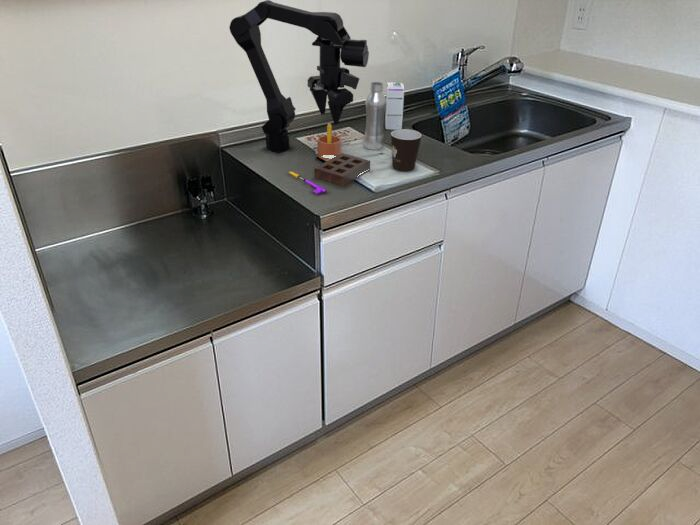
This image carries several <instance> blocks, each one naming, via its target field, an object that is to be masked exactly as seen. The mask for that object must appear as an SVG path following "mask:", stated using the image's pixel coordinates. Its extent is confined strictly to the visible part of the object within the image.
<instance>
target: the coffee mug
mask: <svg viewBox="0 0 700 525" xmlns="http://www.w3.org/2000/svg"><path fill="white" fill-rule="evenodd" d="M421 139H422V133H421V132H420V131H418V130H414V129H409V128H402V129H399V130H391V132H390V142H391V163H392V169H393V170H395V171H397V172H402V173H405V172H406V173H408V172H412V171H414V170H415V167H416V162H417V158H418V154H419V148H420V144H421Z"/></svg>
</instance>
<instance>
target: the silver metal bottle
mask: <svg viewBox="0 0 700 525" xmlns="http://www.w3.org/2000/svg"><path fill="white" fill-rule="evenodd" d="M369 90H370V92H369V94H368V95H367V96H366V98H365V101H364V102H365V119H366V120H365V130H364V135H363V141H362V142H363V146H364V148H366V150H371V151H377V150H381V149H382V148H383V146H384V143H385V135H384V122H385V113H386V95H385V94H384V93H383V91H384V84H383V83H382V82H380V81H373V82H370V87H369Z"/></svg>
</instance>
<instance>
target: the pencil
mask: <svg viewBox="0 0 700 525" xmlns="http://www.w3.org/2000/svg"><path fill="white" fill-rule="evenodd" d="M326 135H327V143H332V135H333V125H332V122H330V121H329V122H328V123H327V125H326Z"/></svg>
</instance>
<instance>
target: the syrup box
mask: <svg viewBox="0 0 700 525" xmlns="http://www.w3.org/2000/svg"><path fill="white" fill-rule="evenodd" d="M385 98H386V108H385V113H384V127H385V130H391V131H394V130H399V129H403V117H404V101H405V100H404V99H405V85H404V82H399V81H393V82H386V95H385Z"/></svg>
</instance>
